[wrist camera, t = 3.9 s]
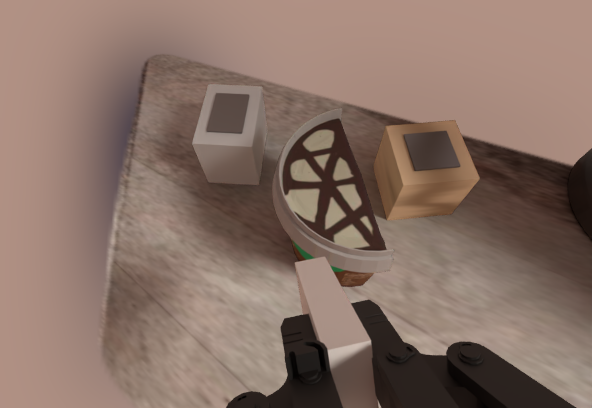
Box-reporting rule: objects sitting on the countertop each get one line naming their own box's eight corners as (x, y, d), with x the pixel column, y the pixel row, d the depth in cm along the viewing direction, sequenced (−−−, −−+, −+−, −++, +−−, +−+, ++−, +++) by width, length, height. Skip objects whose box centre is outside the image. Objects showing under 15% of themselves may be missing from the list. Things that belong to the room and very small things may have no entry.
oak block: (432, 161, 35) (455, 118, 30) (450, 214, 33) (481, 177, 27) (372, 167, 35) (386, 124, 30) (386, 220, 32) (404, 184, 27)
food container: (267, 189, 34) (256, 115, 25) (329, 178, 34) (340, 102, 26) (293, 319, 28) (290, 281, 19) (367, 303, 29) (398, 259, 20)
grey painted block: (267, 130, 38) (261, 84, 32) (259, 185, 34) (251, 145, 29) (221, 127, 38) (207, 82, 32) (208, 182, 34) (191, 142, 29)
